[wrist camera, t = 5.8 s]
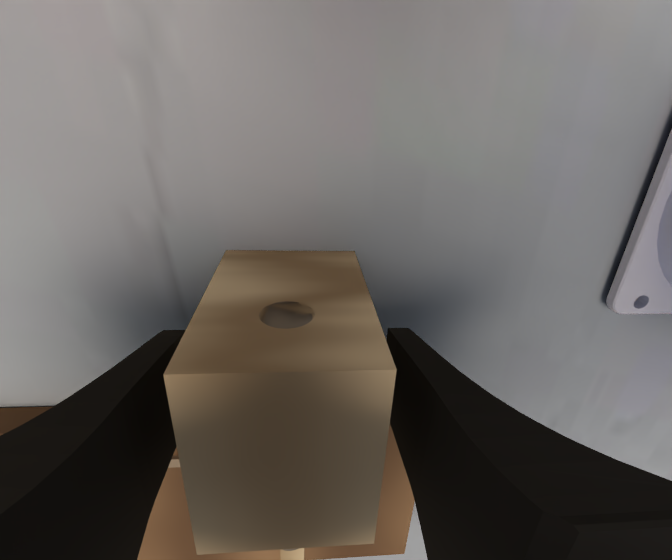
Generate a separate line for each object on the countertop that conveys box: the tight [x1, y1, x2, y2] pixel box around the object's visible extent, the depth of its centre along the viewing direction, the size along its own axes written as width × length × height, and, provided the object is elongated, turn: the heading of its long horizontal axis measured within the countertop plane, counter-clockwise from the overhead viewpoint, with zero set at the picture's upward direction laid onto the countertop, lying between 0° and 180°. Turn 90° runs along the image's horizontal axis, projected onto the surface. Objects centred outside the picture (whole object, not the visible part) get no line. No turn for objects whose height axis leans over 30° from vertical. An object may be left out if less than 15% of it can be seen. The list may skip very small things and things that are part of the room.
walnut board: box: [0, 407, 415, 560], centre depth 15 cm, size 16×8×1 cm, turn 88°
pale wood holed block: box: [163, 250, 397, 555], centre depth 11 cm, size 4×8×6 cm, turn 178°
